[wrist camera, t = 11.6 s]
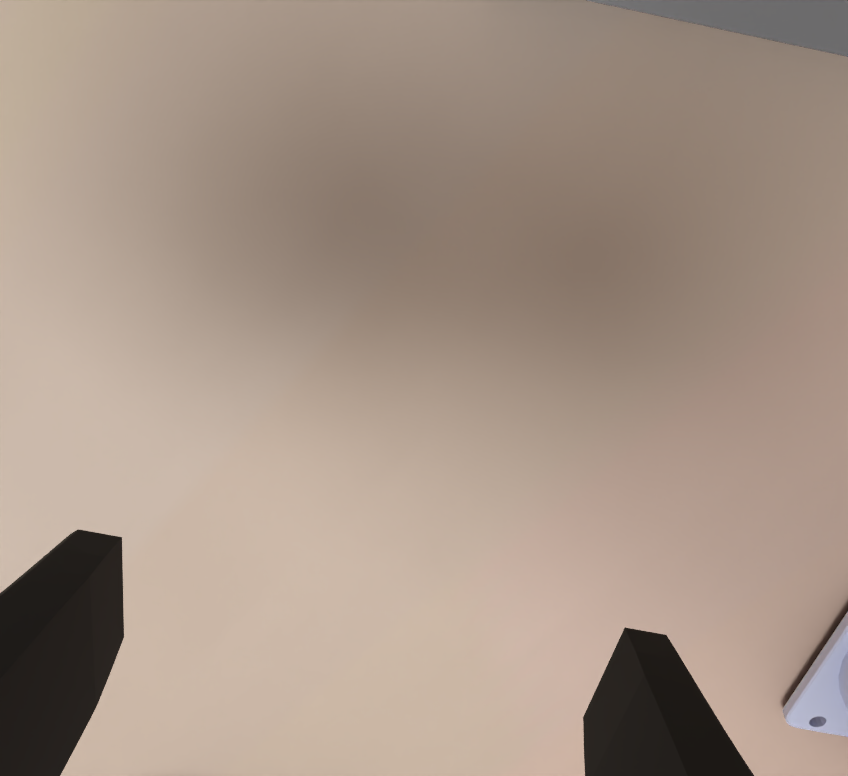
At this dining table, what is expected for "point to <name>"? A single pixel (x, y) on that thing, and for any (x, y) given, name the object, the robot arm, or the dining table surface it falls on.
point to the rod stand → (760, 18)
